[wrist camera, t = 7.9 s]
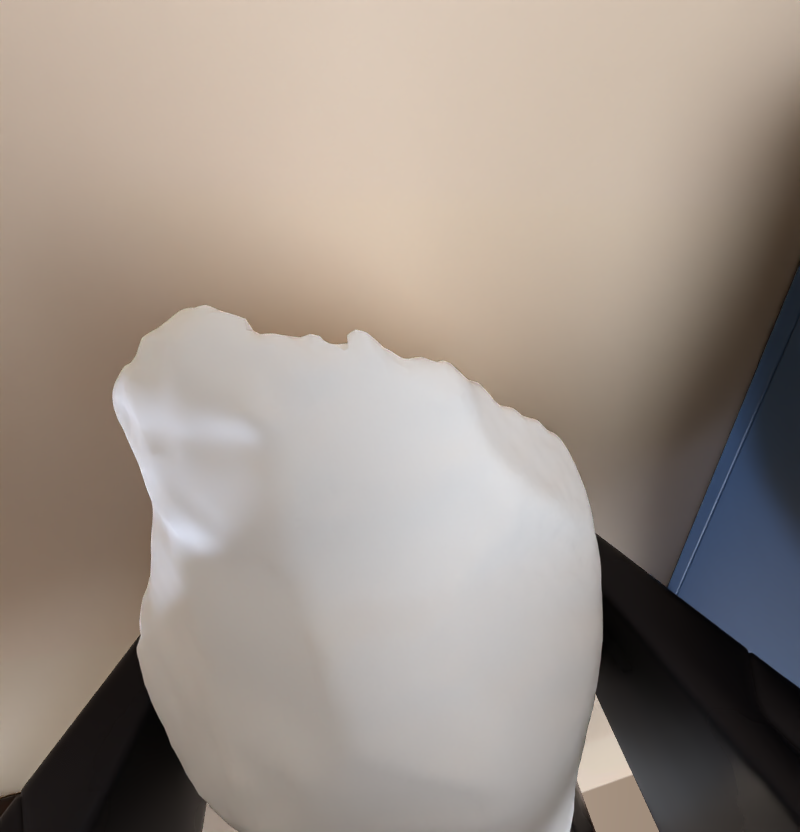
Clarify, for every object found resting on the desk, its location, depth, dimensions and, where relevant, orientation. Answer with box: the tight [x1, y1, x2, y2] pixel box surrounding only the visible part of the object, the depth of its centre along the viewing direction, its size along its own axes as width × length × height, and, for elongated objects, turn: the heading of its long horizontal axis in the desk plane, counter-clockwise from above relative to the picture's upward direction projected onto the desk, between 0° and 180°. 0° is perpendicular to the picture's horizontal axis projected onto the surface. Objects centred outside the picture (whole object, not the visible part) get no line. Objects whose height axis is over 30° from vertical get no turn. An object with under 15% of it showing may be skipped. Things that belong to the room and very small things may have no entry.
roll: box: [112, 305, 603, 832], centre depth 7 cm, size 6×12×6 cm, turn 10°
